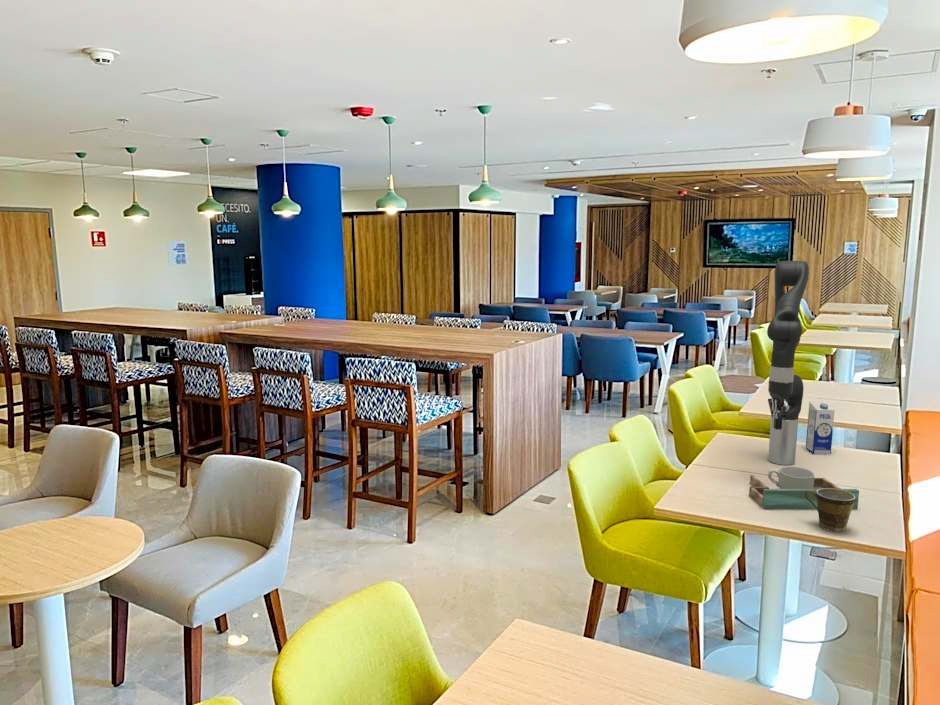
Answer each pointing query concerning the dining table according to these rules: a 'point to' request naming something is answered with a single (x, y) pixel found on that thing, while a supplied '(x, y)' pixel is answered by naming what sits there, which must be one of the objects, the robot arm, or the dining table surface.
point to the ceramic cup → (833, 507)
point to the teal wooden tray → (791, 495)
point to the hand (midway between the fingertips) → (777, 428)
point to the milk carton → (820, 428)
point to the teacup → (793, 477)
